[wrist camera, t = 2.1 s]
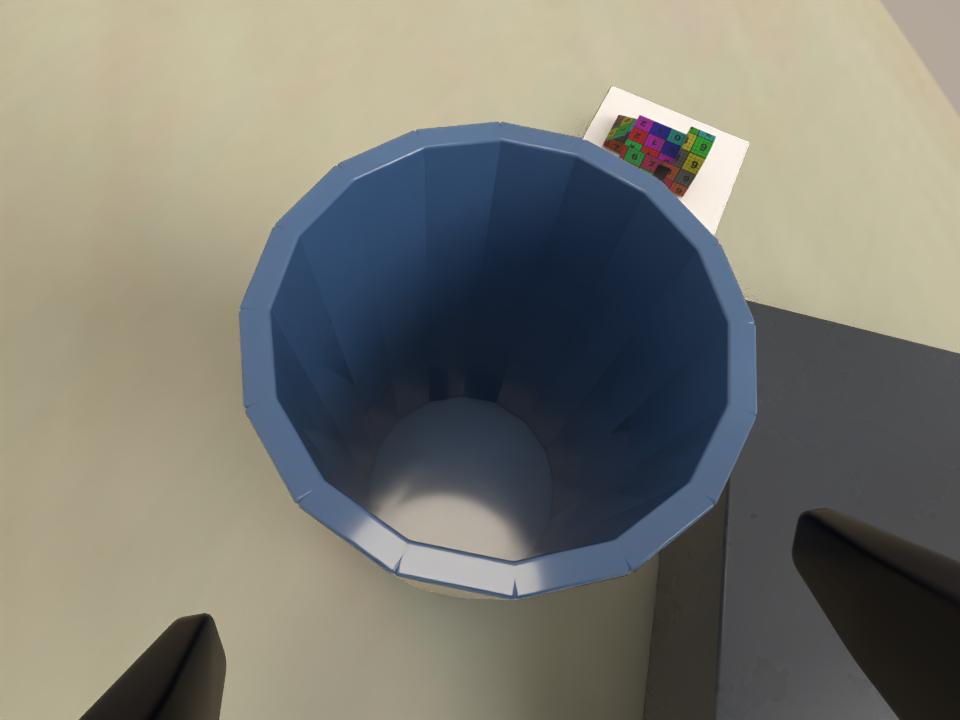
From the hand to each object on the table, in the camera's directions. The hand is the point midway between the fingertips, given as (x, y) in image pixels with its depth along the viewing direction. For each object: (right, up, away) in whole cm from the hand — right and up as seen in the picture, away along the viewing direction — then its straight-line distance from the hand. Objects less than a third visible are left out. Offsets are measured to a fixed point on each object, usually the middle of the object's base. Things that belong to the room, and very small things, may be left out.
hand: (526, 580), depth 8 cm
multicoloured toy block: (+7, +12, +17) cm, 22 cm away
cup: (-1, -1, +10) cm, 11 cm away
